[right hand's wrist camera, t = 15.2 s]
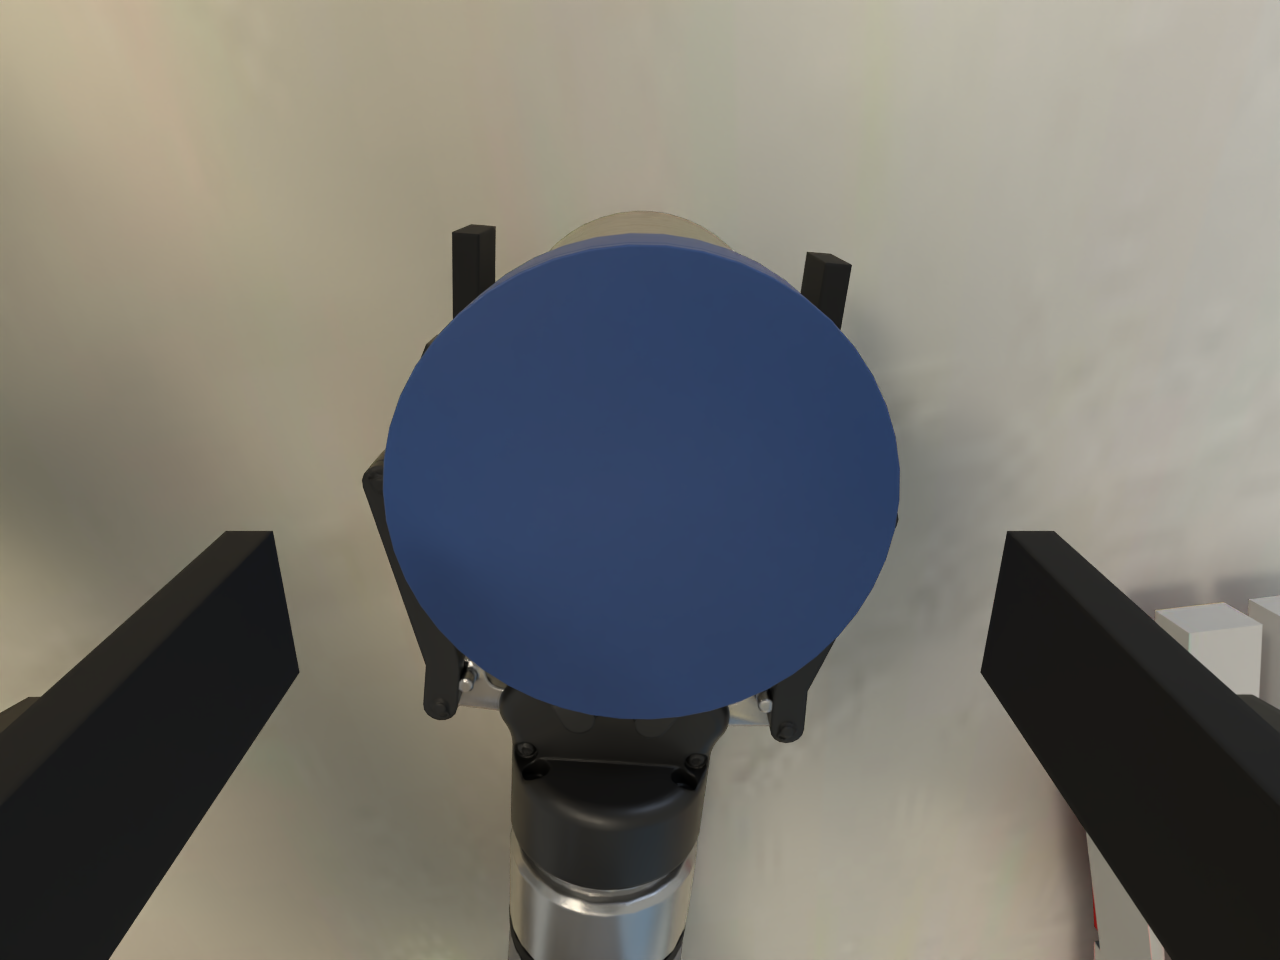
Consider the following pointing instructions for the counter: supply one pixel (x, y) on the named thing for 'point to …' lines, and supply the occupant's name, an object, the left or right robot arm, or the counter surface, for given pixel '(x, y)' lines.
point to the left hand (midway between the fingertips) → (652, 243)
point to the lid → (641, 478)
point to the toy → (1248, 664)
